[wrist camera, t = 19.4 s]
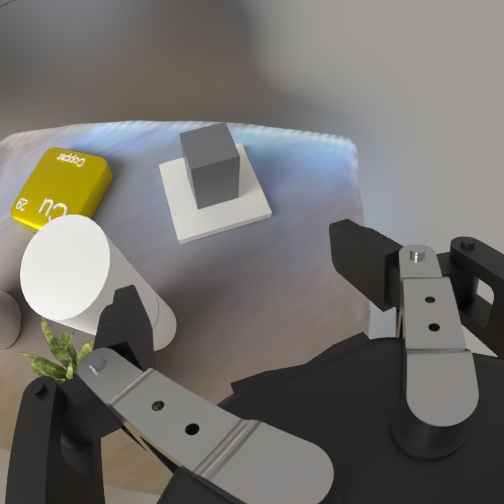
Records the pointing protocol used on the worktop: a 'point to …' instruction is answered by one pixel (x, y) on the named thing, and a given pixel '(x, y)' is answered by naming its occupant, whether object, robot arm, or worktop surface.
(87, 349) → the house plant
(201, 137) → the tall grey pillar
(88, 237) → the cylindrical container
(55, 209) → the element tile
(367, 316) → the worktop surface
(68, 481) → the robot arm
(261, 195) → the stud plate
